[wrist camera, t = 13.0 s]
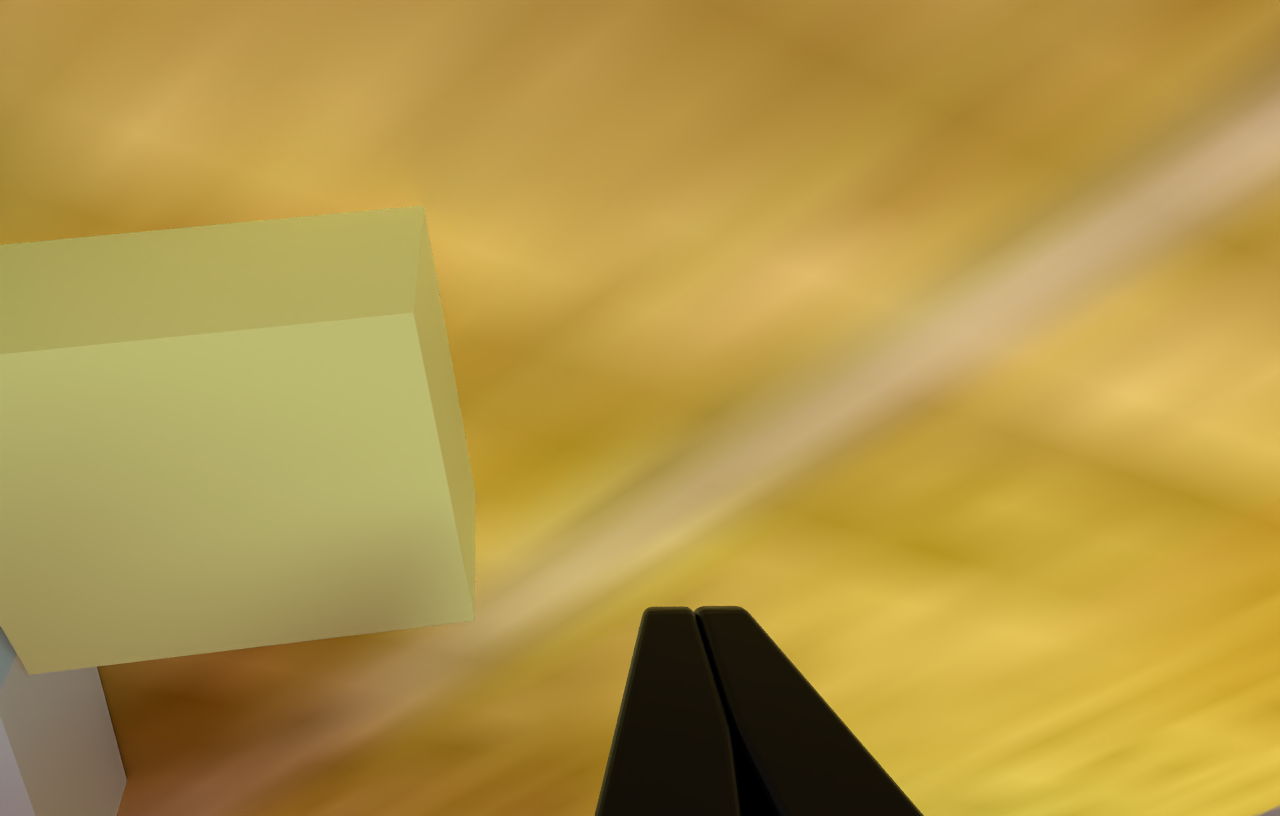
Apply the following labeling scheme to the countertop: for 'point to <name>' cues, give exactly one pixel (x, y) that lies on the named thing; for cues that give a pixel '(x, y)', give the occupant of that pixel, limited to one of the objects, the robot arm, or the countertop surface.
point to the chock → (228, 440)
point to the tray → (56, 742)
